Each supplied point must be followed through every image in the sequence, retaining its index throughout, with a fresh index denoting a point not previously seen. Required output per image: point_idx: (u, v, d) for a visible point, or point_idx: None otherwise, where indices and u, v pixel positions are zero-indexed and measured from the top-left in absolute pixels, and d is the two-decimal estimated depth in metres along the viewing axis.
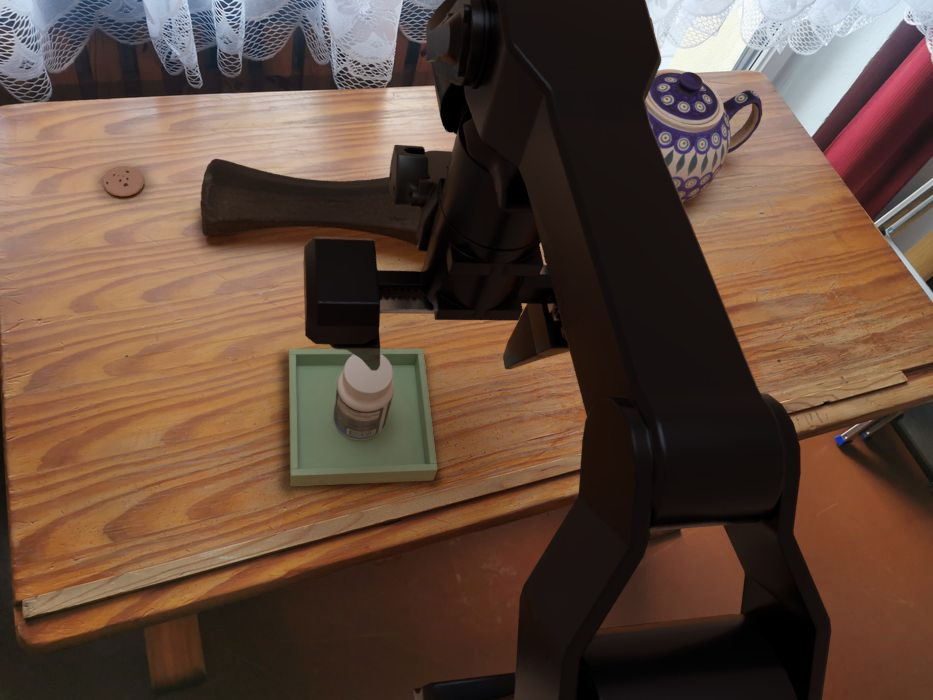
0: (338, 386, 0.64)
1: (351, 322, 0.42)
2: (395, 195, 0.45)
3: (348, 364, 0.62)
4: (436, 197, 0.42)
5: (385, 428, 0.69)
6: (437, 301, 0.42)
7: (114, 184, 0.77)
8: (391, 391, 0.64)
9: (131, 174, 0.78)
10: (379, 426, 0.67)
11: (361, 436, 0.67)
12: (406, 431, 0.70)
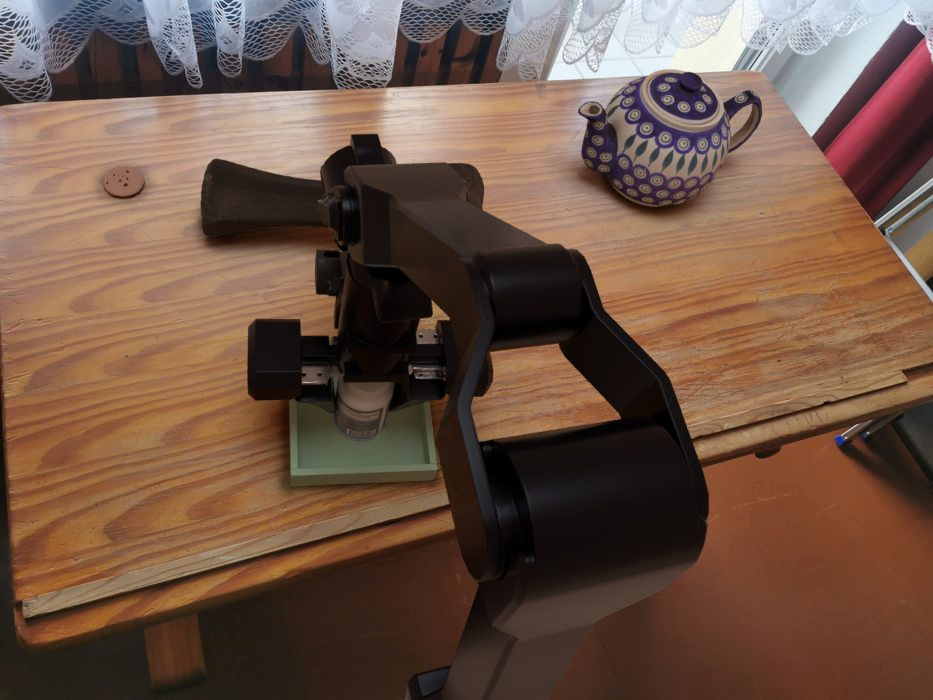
0: (338, 386, 0.64)
1: (280, 385, 0.57)
2: (316, 287, 0.60)
3: None
4: (343, 292, 0.57)
5: (385, 428, 0.69)
6: (344, 369, 0.57)
7: (114, 184, 0.77)
8: (391, 391, 0.64)
9: (131, 174, 0.78)
10: (379, 426, 0.67)
11: (361, 436, 0.67)
12: (406, 431, 0.70)
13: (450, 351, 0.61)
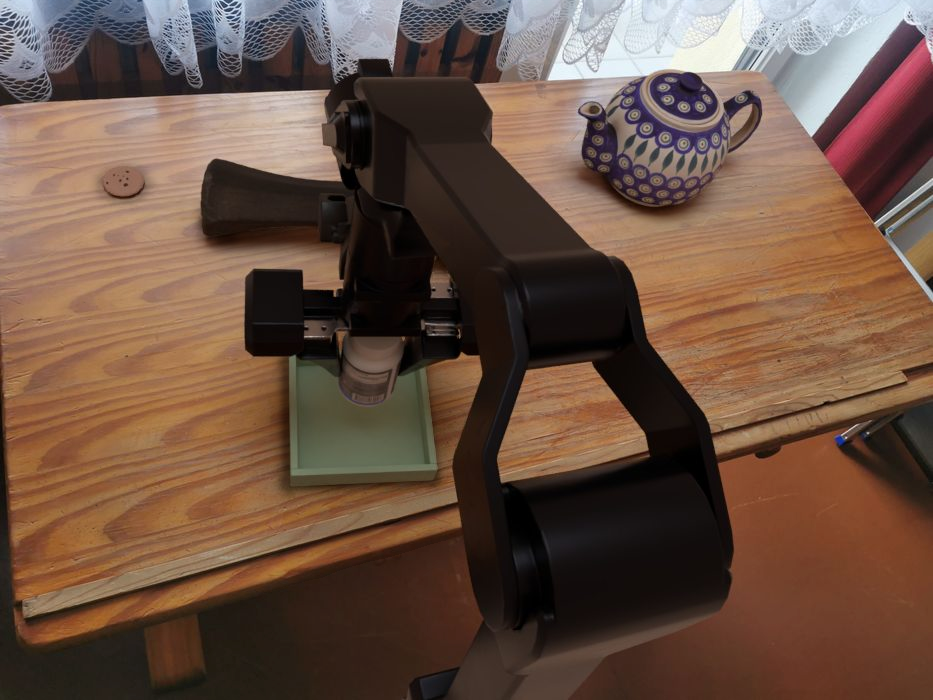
0: (343, 345, 0.59)
1: (281, 339, 0.52)
2: (320, 234, 0.55)
3: None
4: None
5: (385, 428, 0.69)
6: (351, 322, 0.52)
7: (114, 184, 0.77)
8: (401, 351, 0.59)
9: (131, 174, 0.78)
10: (387, 391, 0.62)
11: (368, 402, 0.62)
12: (406, 431, 0.70)
13: (466, 305, 0.56)
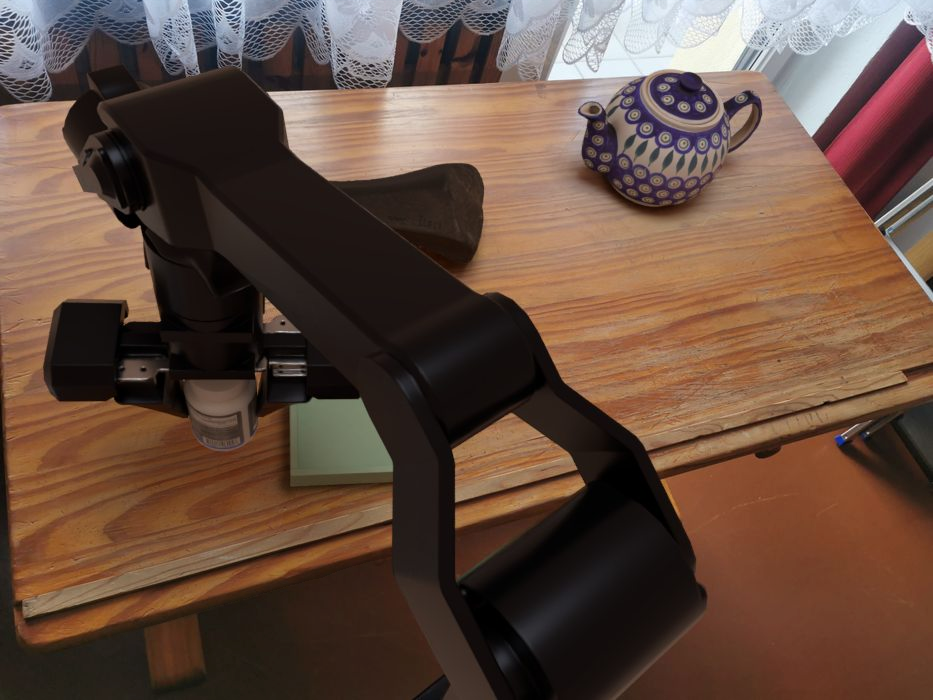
0: (184, 384, 0.51)
1: (86, 382, 0.45)
2: (145, 260, 0.48)
3: None
4: None
5: None
6: (169, 363, 0.45)
7: None
8: (251, 391, 0.52)
9: None
10: (244, 434, 0.55)
11: (222, 446, 0.55)
12: None
13: None
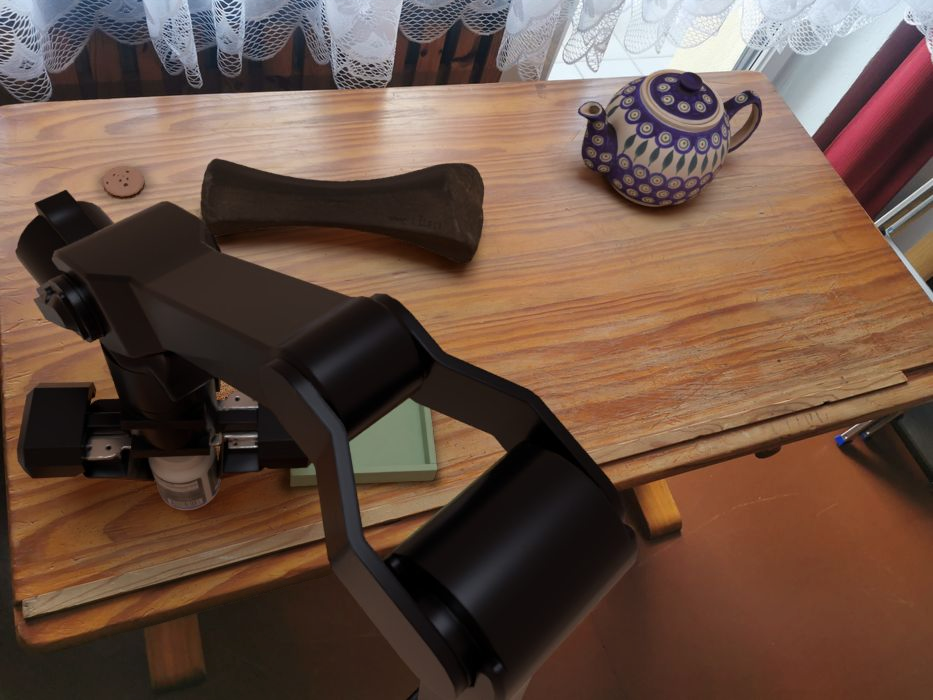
0: None
1: (56, 463, 0.50)
2: None
3: None
4: None
5: (385, 428, 0.69)
6: (131, 443, 0.50)
7: (114, 184, 0.77)
8: (210, 459, 0.57)
9: (131, 174, 0.78)
10: (205, 495, 0.60)
11: (186, 506, 0.60)
12: (406, 431, 0.70)
13: (265, 418, 0.53)
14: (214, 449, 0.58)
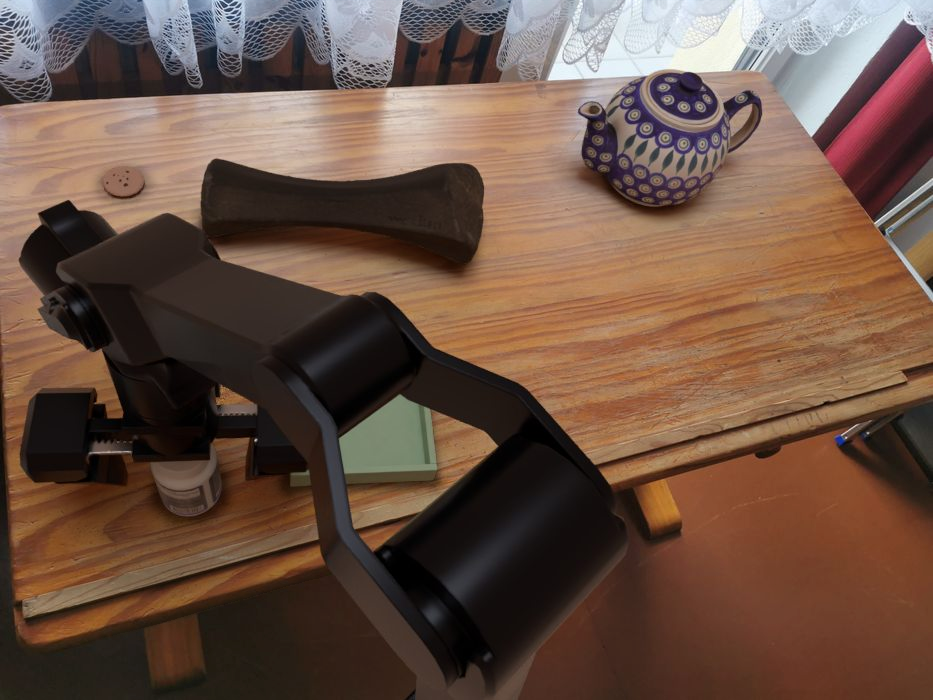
0: (151, 462, 0.57)
1: (58, 467, 0.50)
2: None
3: None
4: None
5: (385, 428, 0.69)
6: (132, 448, 0.51)
7: (114, 184, 0.77)
8: (212, 467, 0.58)
9: (131, 174, 0.78)
10: (207, 501, 0.61)
11: (187, 513, 0.61)
12: (406, 431, 0.70)
13: (264, 423, 0.54)
14: (215, 457, 0.59)
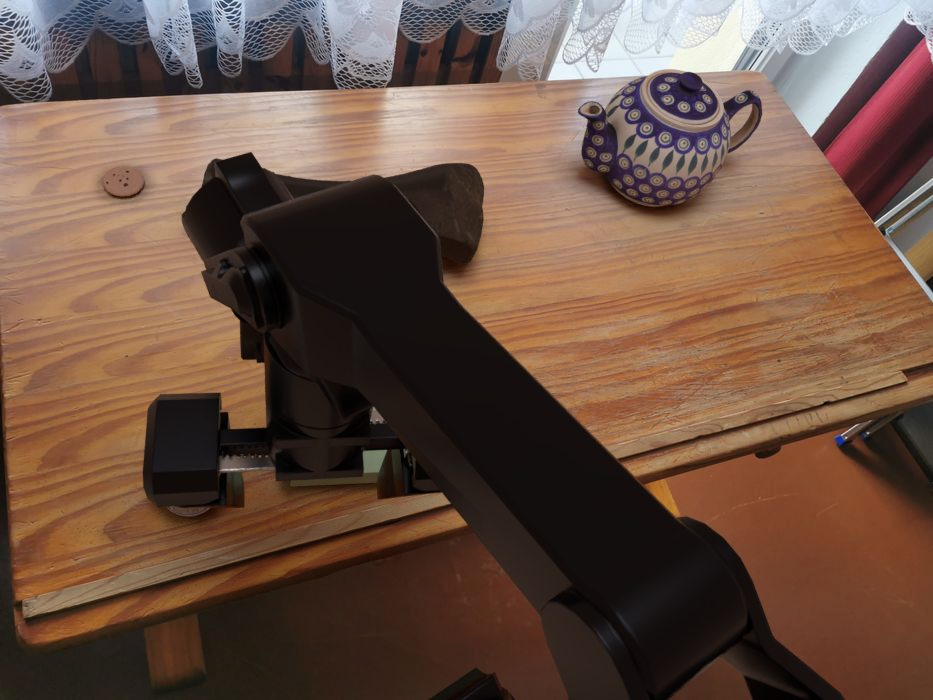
0: None
1: (188, 488, 0.42)
2: (241, 351, 0.45)
3: None
4: None
5: None
6: (275, 464, 0.42)
7: (114, 184, 0.77)
8: None
9: (131, 174, 0.78)
10: None
11: (188, 513, 0.61)
12: None
13: None
14: None
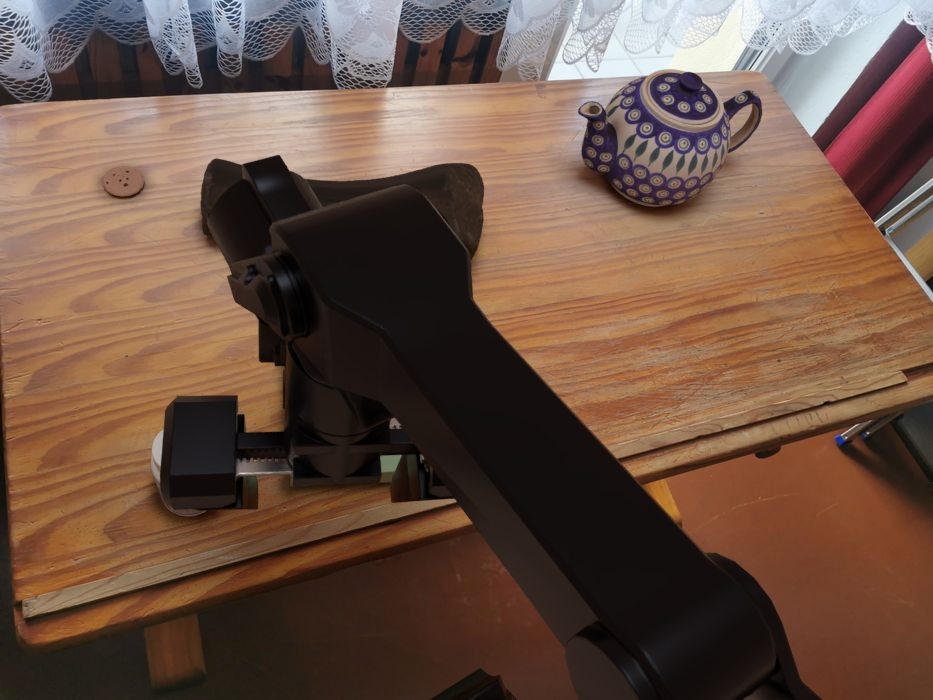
0: (151, 462, 0.57)
1: (205, 492, 0.42)
2: (259, 354, 0.45)
3: (158, 439, 0.56)
4: None
5: None
6: (293, 469, 0.42)
7: (114, 184, 0.77)
8: None
9: (131, 174, 0.78)
10: None
11: (187, 513, 0.61)
12: None
13: None
14: None
